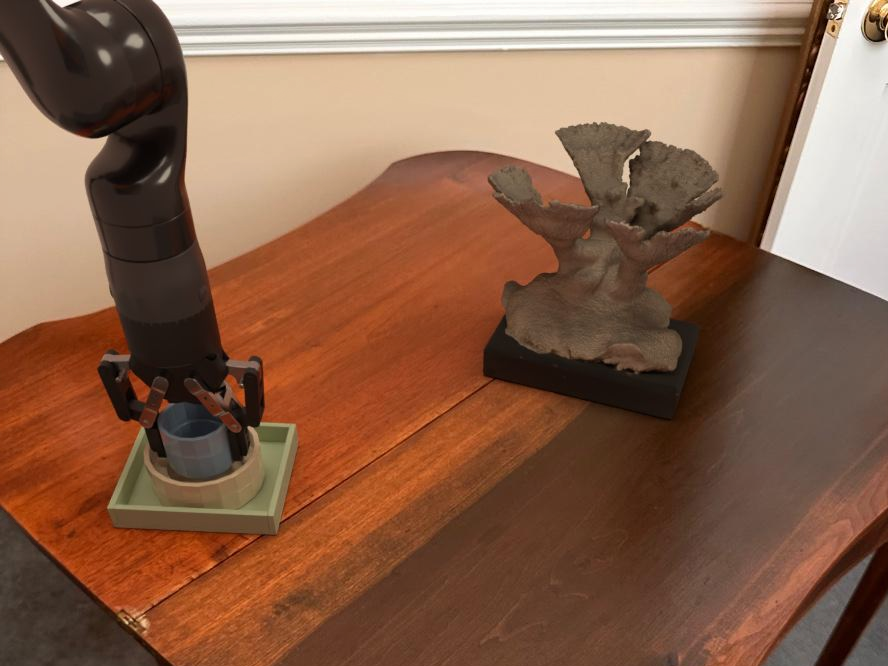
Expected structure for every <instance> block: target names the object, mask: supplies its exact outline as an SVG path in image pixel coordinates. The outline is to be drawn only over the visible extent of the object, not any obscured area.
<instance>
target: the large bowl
mask: <svg viewBox="0 0 888 666" xmlns="http://www.w3.org/2000/svg"><path fill="white" fill-rule="evenodd" d="M248 431H249V436H250V441H251V443H250V447H249V450H248V453H247V456H244V457H243V460H242V462H241V461H235V462H234V463H233V464H232V465H231V467H230V468H229V469H227V470H226V471H225V472H224V473H222V474H220V475H218V476H215V477H212V478H208V479H192V478H188V477H185V476H182V475H179V474H177V473H176V472H175V471H174V470H173V469H172V468H171V467H170V465H169V462H168V458H159V457H158V454H157V452H153V451H152V449H151V448H150V446H149V442H148V441H147V444H146V446H145V449H144V463H145V466H146V469H147V472H148V475H149V478H150V481H151V484H152V487H153V491H154V494H155V495H156V497H157V498H158V500H159V501H160V503H161V504H162V505H164V506H165V507H184V508H206V509H227V510H236V509H238V508H241V507H242V506H243V505H245V504H246V503H248V502H249V501H250V500H252V499H253V498H254V497H255V496H256V495H257V493H258V492H259V491H260V489H261V488H262V486H263V482H264V478H265V469H264V464H263V458H262V453H261V448H260V443H259V438H258V434H257V432H256V431H255V430H254V429H253V427H250V426H248Z"/></svg>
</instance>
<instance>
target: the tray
mask: <svg viewBox="0 0 888 666" xmlns="http://www.w3.org/2000/svg"><path fill="white" fill-rule="evenodd" d="M253 429H254V430H255V431H256V432H257V434H258V438H259V443H260V448H261V453H262V458H263V464H264V469H265V478H264V482H263V486H262V488H261V489H260V491H259V492H258V493H257V495H256V496H255V497H254V498H253V499H252V500H250V501H249V502H248V503H246V504H245V505H243V506H242V507H241V508H238V509H236V510H227V509H206V508H184V507H165V506H164V505H162V504H161V503H160V501H159V500H158V498H157V497H156V495H155V494H154V491H153V487H152V484H151V481H150V478H149V475H148V472H147V469H146V466H145V463H144V449H145V446H146V444H147V441H148V439H147V436H146V433H145V429H144V427H142V426H140V429H139V432H138V434H137V437H136V438H135V441H134V443H133V445H132V449H131V450H130V453H129V455H128V458H127V459H126V462H125V465H124V466H123V469H122V472H121V473H120V477H119V479H118V481H117V483H116V486H115V488H114V491H113V493H112V495H111V498H110V500H109V503H108V504H107V507H106V510H107V512H108V514H109V517H110V520H111V523H112V525H113V528H116V529H117V528H121V529H139V530H140V529H141V530H159V531H160V530H162V531H184V532H203V533H205V532H206V533H225V534H227V533H228V534H245V535H246V534H247V535H248V534H249V535H267V536H268V535H269V536H277V535H278V533H279V528H280V523H281V519H282V515H283V511H284V506H285V502H286V498H287V493H288V489H289V485H290V481H291V476H292V472H293V468H294V464H295V459H296V457H297V452H298V447H299V436H298V428H297V423H288V422H267V421H266V422H265V421H263V422H262V421H261V423H260V426H259V427H257V428H253Z"/></svg>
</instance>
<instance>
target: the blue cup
mask: <svg viewBox="0 0 888 666" xmlns="http://www.w3.org/2000/svg"><path fill="white" fill-rule="evenodd" d="M159 413H160V414H159V417H158V419H157V423H158V427H159V431H160V434H161V438H162V441H163V445H164V448H165V452H166V455H167V458H168V462H169V465H170V467H171V468H172V469H173V470H174V471H175V472H176V473H177V474H179V475H182V476H185V477H188V478H192V479H208V478H212V477H215V476H218V475H220V474H222V473H224V472H225V471H226V470H227V469H229V468H230V467H231V465H232V464H233V463H234V462H235V461H234V460H233V456H232V451H231V446H230V442H229V437H228V433H227V432H228V427H227V426H226V425H225V424H224V423H223V422H222V421H221V419H220V418H219V417H218V416H216V417H214V416H213V415H212V414H211V413H210V412H209V411H208V409H207V408H206V407H205V406H204V405H195V404H191V403H187V402H183V403H177V404H175V403H168V404H167V405H166V406H165V407H164V408H163V409H162V410H161V411H159Z"/></svg>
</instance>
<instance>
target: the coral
mask: <svg viewBox="0 0 888 666" xmlns="http://www.w3.org/2000/svg"><path fill="white" fill-rule="evenodd" d="M554 135H556V137H557V138H558V139H559V141H560V143H561V145H562V146H563V149H564V151H565V152H566V153H567V155H568V156H569V158H570V160H571V161H572V164H573V167H574V168H575V169H576V171H577V174H578V176H579V178H580V181H581V183H582V185H583V189H584V193H585V194H586V196H587V198H588V200H589V201H590V206H587V205H582V204H577V203H573V202H570V203H568V202H564V201H563V202H561V200H559V199H555V198H553V199H549V200H548V205H549V206H544V202H543V200H542V194H541V192H539V191H538V190H537V189H536V188H535V187H534V185H533V180H532V179H533V178H532V176H531V175H530V174H529V173H528V169H526V168H525V167H523V168H521V166H520V165H507V166H501V167H500V168H499V169H497V170H494V171H492V172H491V173H490V174H488V175H487V183H488V184H489V185H490V187H492V189H493V190H494V191H493V192H492V194H491V197H493V198H494V200H496V201H497V202H498V203H499V204H501V206H502V207H503V208H505V209H506V210H507V211H508V212H509V213H510V214H512V215H514V216H515V218H517V219H518V220H519V222H520V223H521V224H522V225H524V226H525V227H527V228H528V230H530V231H531V232H533V233H534V234H535V235H537V236H538V235H539V236H541V238H543V240H545V242H546V243H548V244H549V246H550V247H551V248H552V250H553V253H554V256H555V257H556V258H557V262H558V267H557V271H556V272H541V273H538V275H536V276H535V277H534V278H533V279H532V280H531V281H529V282H528V283H526V284H525V285H523V284H520V283H519V282H518V281H516V280H513V279H512V280H509V281H505V282H504V284H503V289H502V293H501V298H500V303H501V306H502V307H503V308H504V310H505V312H504V314H503V316H502V317H501V319H500V321H499V322H498V324H497V325H496V328H495V329H494V331H493V333H492V334H491V336H490V337H489V339H488V341H487V342H486V344H485V347H484V348H483V359H482V361H483V363H482V374H483V375H484V376H487V377H491V378H496V379H499V380H504V381H508V382H512V383H516V384H521V385H524V386H528V387H533V388H536V389H537V388H538V389H540V390H545V391H548V392H554V393H557V394H561V395H566V396H570V397H573V398H574V397H575V398H579V399H582V400H587V401H589V402H590V401H591V402H595V403H598V404H599V403H600V404H603V405H607V406H611V407H615V408H620V409H622V410H623V409H624V410H627V411H632V412H637V413H640V414H645V415H648V416H654V417H657V418H662V419H667V420H670V421H672V420H673V418H674V415H675V412H676V409H677V406H678V403H679V400H680V397H681V394H682V391H683V387H684V385H685V381H686V378H687V375H688V372H689V369H690V367H691V363H692V361H693V357H694V353H695V350H696V346H697V343H698V338H699V335H700V332H701V331H700V330H701V326H700V325H699V324H697V323H696V322H695V323H694V322H689V321H684V320H680V319H675V318H671V315H672V310H673V306H672V304H670V303H669V302H667V300H666V299H665V298H664V297H663V295H662V294H661V292H659V291H657V290H656V289H653V288H652V287H649V286H647V281H648V279H649V272H648V271H649V270H650V269H652V268H654V267H656V266H658V265H659V266H660V265H661V264H665V263H666V262H668V261H670V260H673V259H676V258H677V257H678V256H679V255H681V254H682V253H683V252H686V251H687V250H689V249H691V248H692V247H694V246H696V245H699V244H701V243H702V242H704V241H705V240H707V239H708V238H709V237H710V235H711V230H702V229H700V230H696V229H694V227H692V226H688V227H683V226H684V225H685V224H686V223H688V222H689V221H691V220H693V218H694V217H696V216H698V215H700V214H702V213H703V212H706V211H707V210H708V209H709V208H710V207H712V206H713V205H714V204H715V203H716V202H718V201H720V200H722V198H723V197H724V196H725V191H724V190H723V188H722V187H718V186H716V187H715V188H713V189H711V188H712V186H714V185H715V184H717V182H719V180H720V178H719V177H720V175H719V172H718V171H717V170H716V169H713V166H712V165H711V164H710V161H708V160H706V159H705V157H702V156H701V155H700V154H698V153H697V152H696V150H693V149H690V148H684V149H683V148H682V147H677V146H676V145H673V144H669V145H668V143H664V142H663V141H660V140H650V137H651V136H652V132H651V130H650V129H647V128H644V129H643V130H642V129H641V130H637V129H630V128H629V127H627V126H624V125H616V124H615V123H612V124H611V123H608V122H606V121H605V122H603V121H601V122H600V123H599V124H598V122H596V121H592V123H589V122H587V123H584V124H581V123H578V124H576V125H573V124H572V125H569V126H567V127H566V126H565V127H560V128H559V129H556V130H555V131H554ZM638 150H639V154H636V155H635V157H634V158H630V157H631V156H632V155H634V153H635V152H637V151H638ZM628 159H629V160H628ZM627 160H628V168H629V170H628V171H629V175H628V178H629V184H628V182H627V181H624V180H623V175H624V167H625V163H626V162H627ZM680 227H682V228H681V229H679V228H680ZM675 230H676V231H675ZM588 231H589V236H588V237H587V238H583V237H584V236H585V235H586V233H587V232H588Z"/></svg>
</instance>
